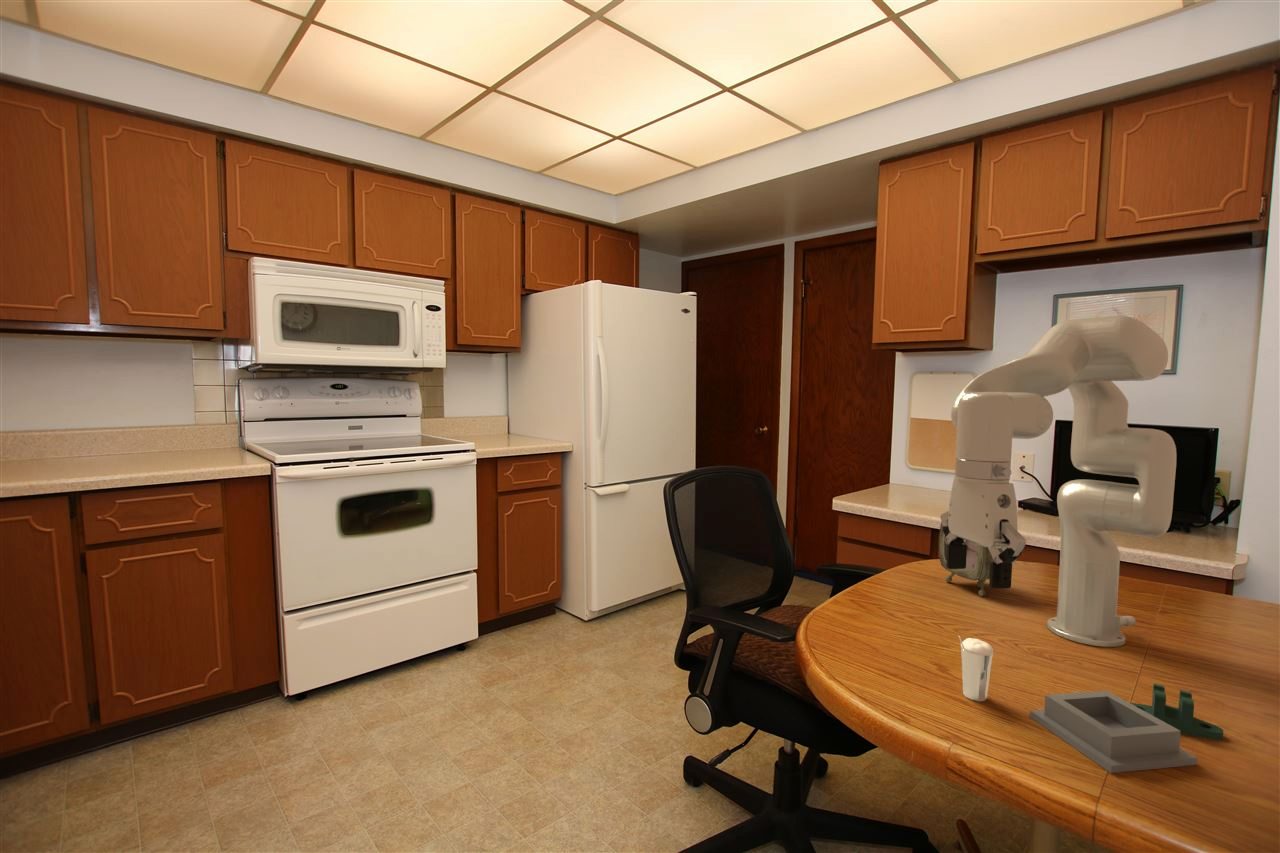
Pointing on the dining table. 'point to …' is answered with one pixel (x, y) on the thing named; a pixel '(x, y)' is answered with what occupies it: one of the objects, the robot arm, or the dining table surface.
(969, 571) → the tabletop clock
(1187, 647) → the dining table surface
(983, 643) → the milkshake
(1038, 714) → the socket
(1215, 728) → the mount
